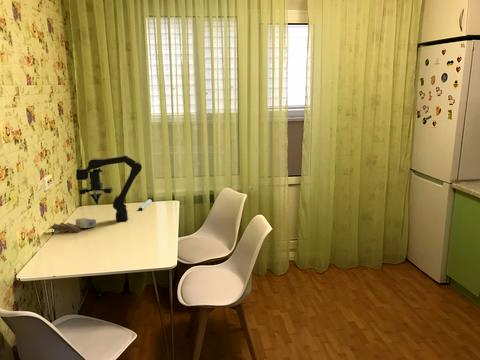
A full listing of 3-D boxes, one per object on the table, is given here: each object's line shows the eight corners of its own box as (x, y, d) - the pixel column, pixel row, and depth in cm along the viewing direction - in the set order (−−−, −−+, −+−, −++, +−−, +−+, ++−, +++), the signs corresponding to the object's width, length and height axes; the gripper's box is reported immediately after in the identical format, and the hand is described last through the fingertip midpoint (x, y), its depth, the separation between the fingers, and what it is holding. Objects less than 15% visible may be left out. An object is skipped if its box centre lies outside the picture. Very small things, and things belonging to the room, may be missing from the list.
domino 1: (81, 227, 232) (67, 222, 229) (79, 230, 227) (65, 225, 225) (79, 229, 232) (66, 224, 230) (78, 232, 227) (64, 227, 225)
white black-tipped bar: (143, 212, 268) (142, 207, 267) (133, 212, 268) (133, 207, 268) (152, 203, 290) (151, 199, 289) (143, 203, 290) (143, 198, 290)
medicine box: (86, 220, 230) (75, 218, 233) (85, 228, 230) (74, 226, 234) (96, 219, 237) (86, 217, 241) (95, 227, 237) (85, 225, 241)
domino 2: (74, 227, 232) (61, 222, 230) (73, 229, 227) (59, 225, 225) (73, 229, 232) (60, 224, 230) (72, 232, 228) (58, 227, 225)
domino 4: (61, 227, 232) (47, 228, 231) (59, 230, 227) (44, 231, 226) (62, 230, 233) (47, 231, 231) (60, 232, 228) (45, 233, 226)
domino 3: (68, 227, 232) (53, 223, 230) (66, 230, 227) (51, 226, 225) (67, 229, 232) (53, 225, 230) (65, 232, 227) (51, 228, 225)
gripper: (113, 176, 247) (115, 200, 251) (82, 177, 246) (85, 201, 249) (109, 179, 237) (111, 205, 240) (77, 180, 235) (80, 206, 238)
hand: (97, 204), depth 242 cm, fingers closed
